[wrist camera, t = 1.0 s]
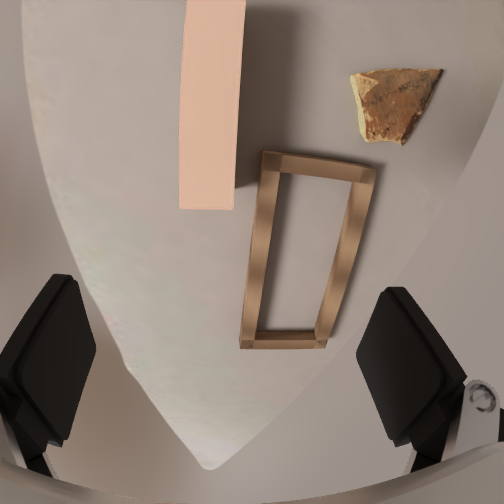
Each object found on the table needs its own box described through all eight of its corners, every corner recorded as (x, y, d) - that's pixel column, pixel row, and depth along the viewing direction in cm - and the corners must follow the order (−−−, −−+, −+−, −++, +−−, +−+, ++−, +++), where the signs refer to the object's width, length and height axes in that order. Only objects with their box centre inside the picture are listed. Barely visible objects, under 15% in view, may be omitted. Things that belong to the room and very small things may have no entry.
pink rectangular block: (194, 16, 19) (187, -3, 15) (241, 17, 20) (246, -3, 15) (187, 188, 27) (179, 208, 22) (231, 188, 27) (233, 209, 22)
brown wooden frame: (262, 149, 26) (264, 152, 24) (369, 166, 27) (377, 169, 26) (239, 339, 36) (240, 348, 34) (321, 339, 37) (324, 348, 36)
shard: (435, 69, 23) (445, 69, 21) (444, 137, 26) (454, 140, 25) (345, 72, 23) (353, 71, 21) (360, 149, 27) (367, 153, 25)
